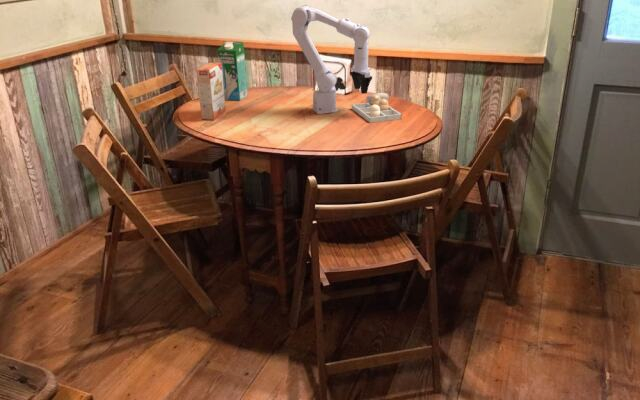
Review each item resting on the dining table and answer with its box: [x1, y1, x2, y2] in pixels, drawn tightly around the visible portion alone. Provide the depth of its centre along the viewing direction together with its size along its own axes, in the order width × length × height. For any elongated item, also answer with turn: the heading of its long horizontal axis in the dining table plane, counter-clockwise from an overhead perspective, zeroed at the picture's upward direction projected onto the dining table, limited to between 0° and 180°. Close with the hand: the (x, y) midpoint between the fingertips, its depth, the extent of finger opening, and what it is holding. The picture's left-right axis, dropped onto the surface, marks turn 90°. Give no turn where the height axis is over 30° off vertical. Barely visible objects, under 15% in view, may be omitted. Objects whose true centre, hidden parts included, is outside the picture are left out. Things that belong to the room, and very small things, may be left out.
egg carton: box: [351, 102, 403, 124], centre depth 227 cm, size 14×20×2 cm
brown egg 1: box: [371, 95, 381, 106], centre depth 233 cm, size 4×4×6 cm
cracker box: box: [196, 62, 226, 121], centre depth 227 cm, size 14×6×21 cm, turn 168°
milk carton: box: [217, 41, 249, 102], centre depth 250 cm, size 9×9×25 cm
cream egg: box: [370, 105, 380, 117], centre depth 220 cm, size 4×4×6 cm
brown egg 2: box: [379, 99, 389, 111], centre depth 227 cm, size 4×4×6 cm
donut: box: [365, 92, 390, 103], centre depth 239 cm, size 10×4×10 cm
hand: (360, 91), depth 227 cm, fingers open, 7 cm apart
